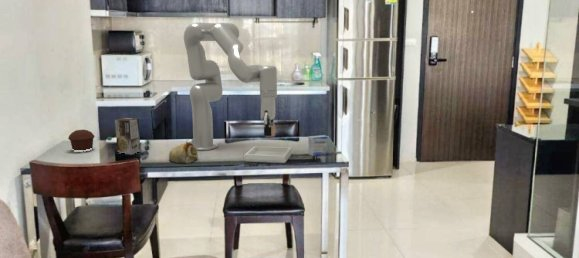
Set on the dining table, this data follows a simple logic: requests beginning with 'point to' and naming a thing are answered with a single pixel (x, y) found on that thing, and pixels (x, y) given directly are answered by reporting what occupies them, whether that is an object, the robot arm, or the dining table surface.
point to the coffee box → (127, 135)
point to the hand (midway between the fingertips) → (269, 134)
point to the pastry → (183, 153)
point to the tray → (268, 154)
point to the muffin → (81, 139)
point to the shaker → (272, 130)
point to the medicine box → (318, 145)
